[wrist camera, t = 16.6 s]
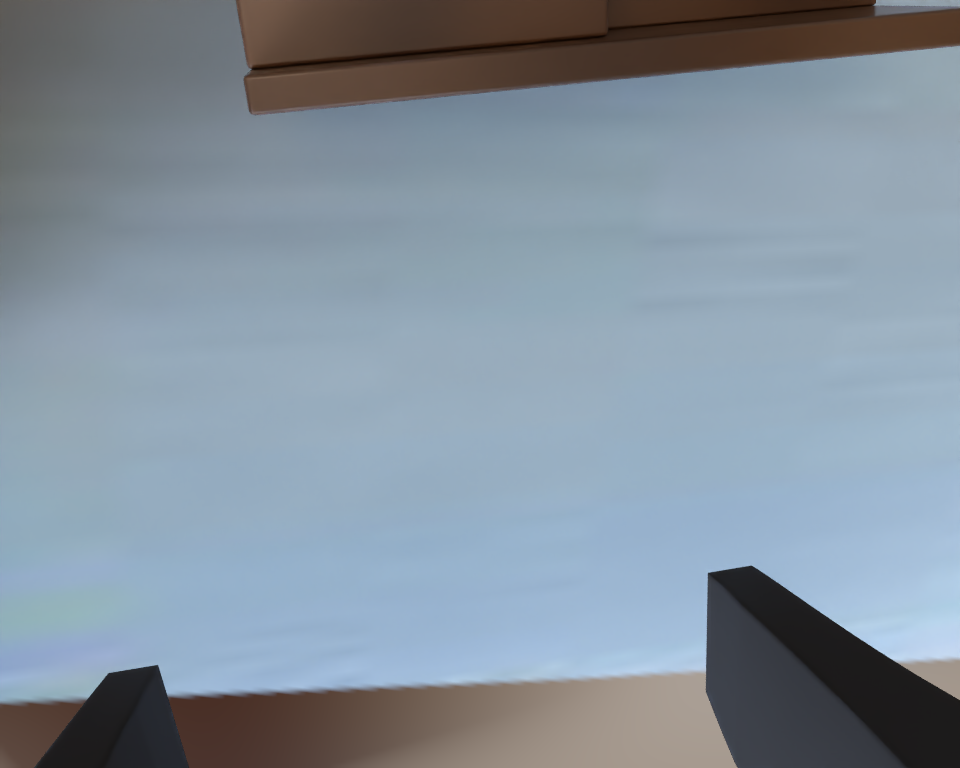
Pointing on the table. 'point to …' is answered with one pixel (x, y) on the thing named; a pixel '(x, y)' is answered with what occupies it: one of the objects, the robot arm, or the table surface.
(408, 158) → the table surface
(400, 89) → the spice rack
